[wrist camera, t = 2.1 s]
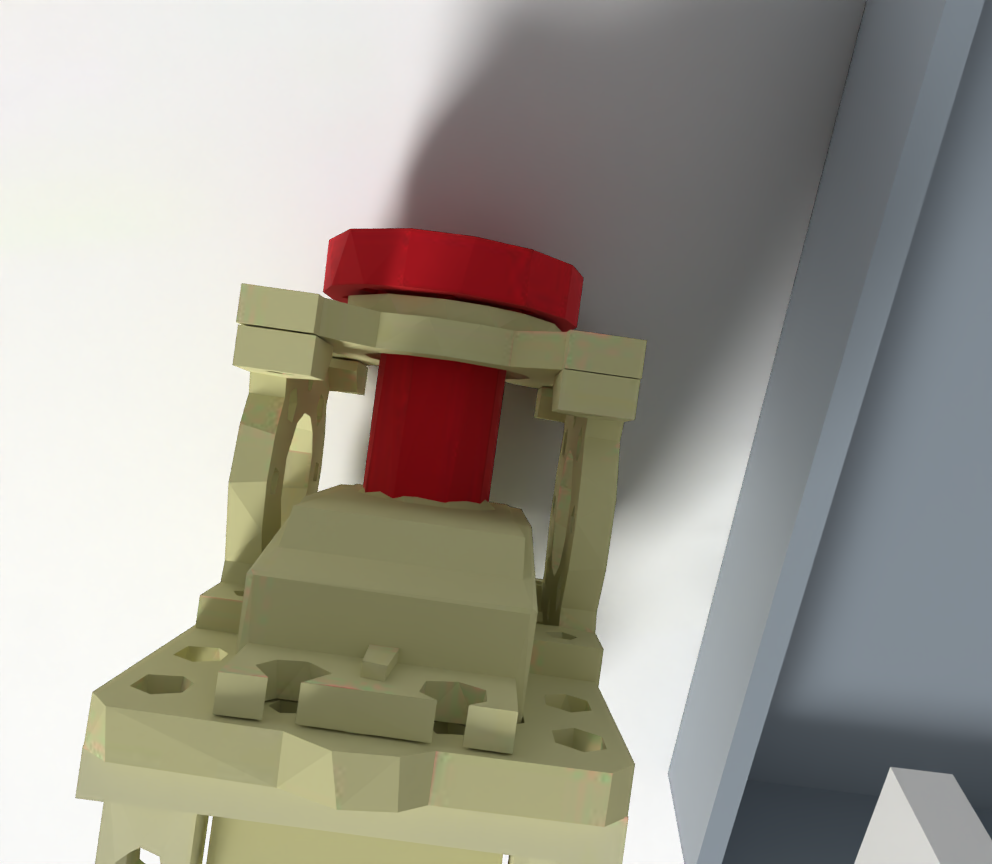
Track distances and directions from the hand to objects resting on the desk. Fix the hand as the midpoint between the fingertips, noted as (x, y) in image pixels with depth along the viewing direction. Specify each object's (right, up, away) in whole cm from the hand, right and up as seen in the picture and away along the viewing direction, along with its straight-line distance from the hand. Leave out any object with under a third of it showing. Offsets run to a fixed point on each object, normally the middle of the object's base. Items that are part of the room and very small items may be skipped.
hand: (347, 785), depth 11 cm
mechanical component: (+1, +5, +14) cm, 15 cm away
